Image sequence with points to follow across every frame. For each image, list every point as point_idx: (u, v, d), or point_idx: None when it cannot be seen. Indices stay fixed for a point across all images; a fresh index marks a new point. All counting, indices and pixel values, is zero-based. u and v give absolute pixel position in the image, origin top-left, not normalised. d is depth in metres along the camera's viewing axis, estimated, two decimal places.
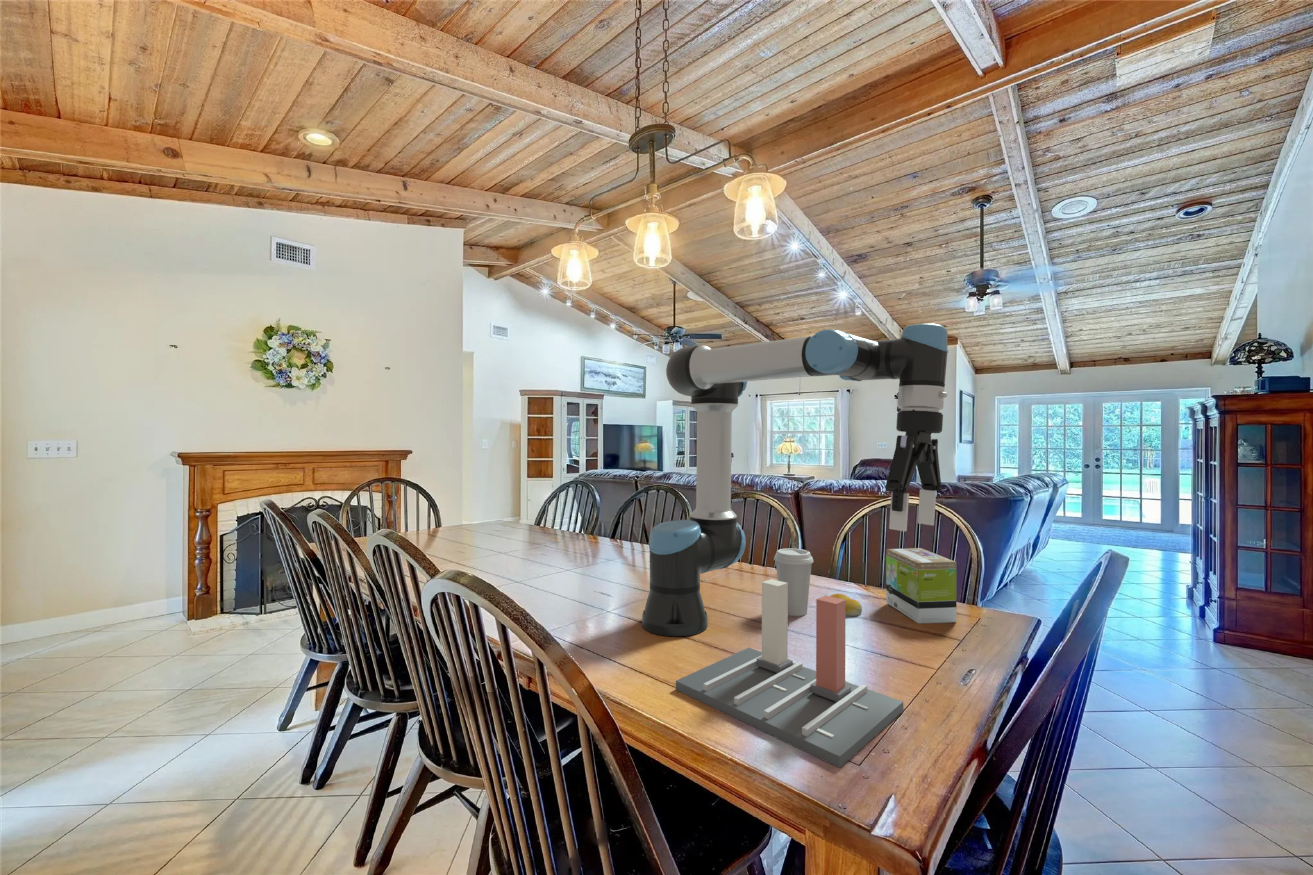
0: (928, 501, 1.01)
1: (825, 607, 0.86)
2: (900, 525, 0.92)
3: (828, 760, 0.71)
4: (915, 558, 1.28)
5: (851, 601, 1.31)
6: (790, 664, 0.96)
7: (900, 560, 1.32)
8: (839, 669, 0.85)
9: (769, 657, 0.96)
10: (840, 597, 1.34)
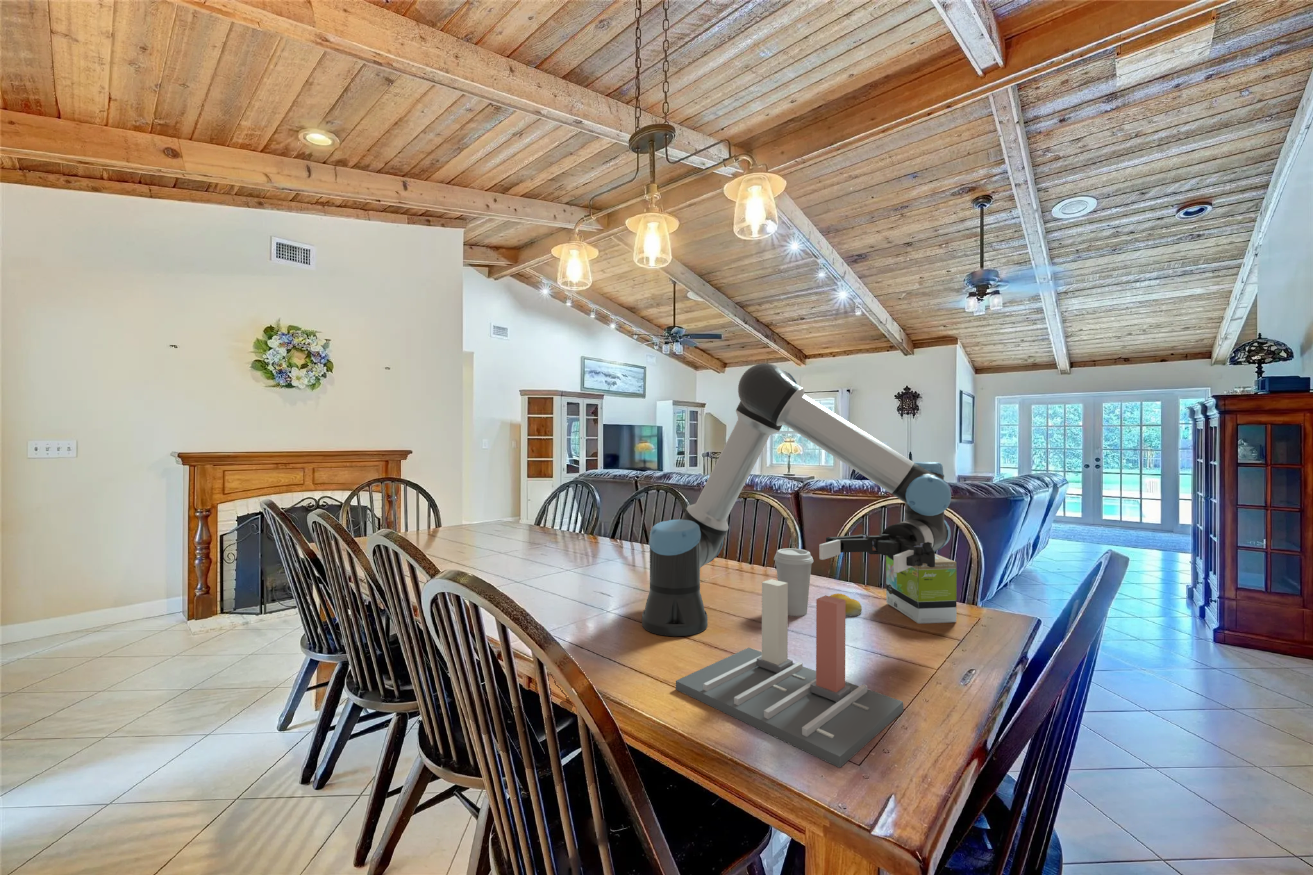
0: (835, 550, 1.01)
1: (825, 607, 0.86)
2: (900, 566, 0.88)
3: (828, 760, 0.71)
4: None
5: (851, 601, 1.31)
6: (790, 664, 0.96)
7: None
8: (839, 669, 0.85)
9: (769, 657, 0.96)
10: (840, 597, 1.34)
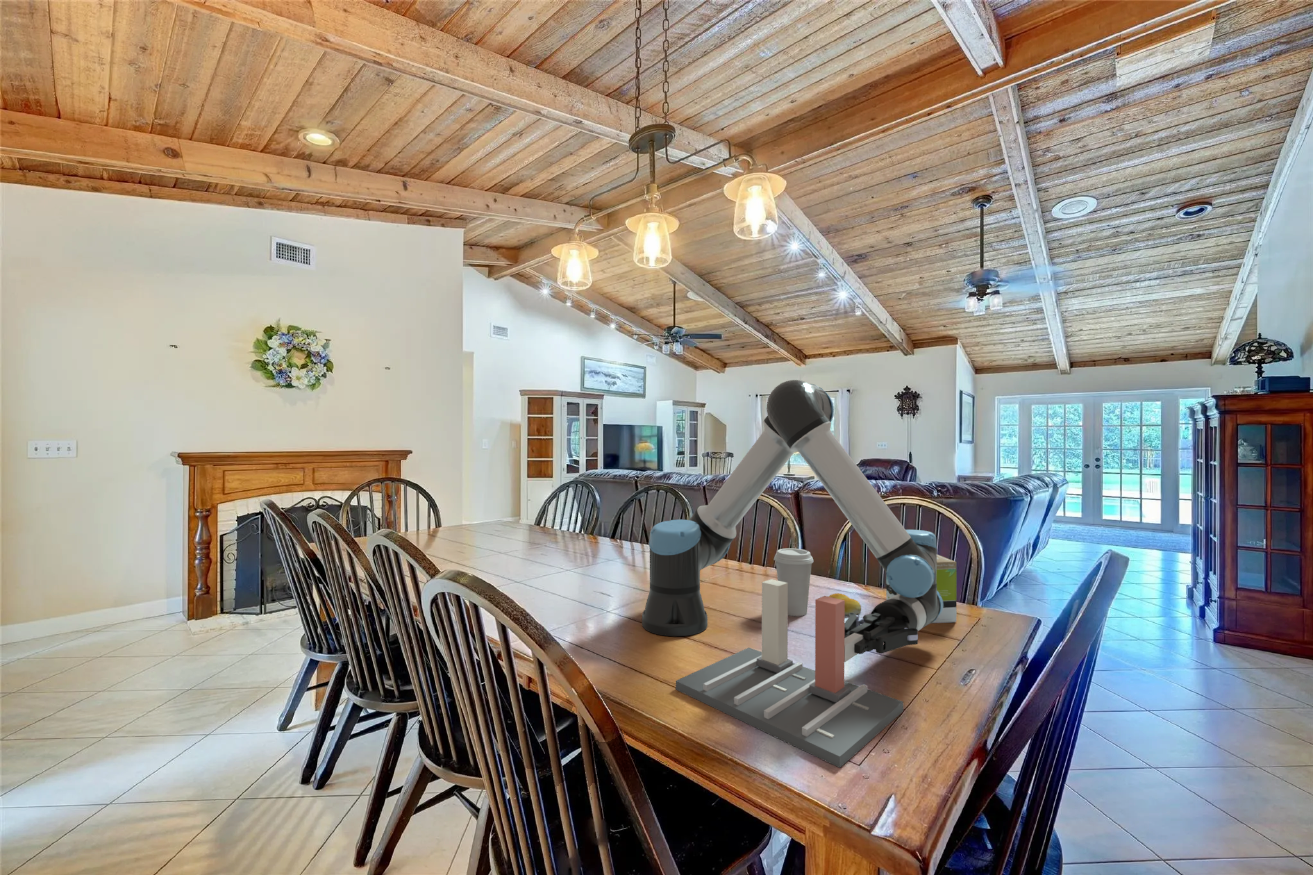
0: None
1: (824, 608, 0.85)
2: (847, 655, 0.87)
3: (828, 760, 0.71)
4: None
5: (850, 601, 1.31)
6: (790, 664, 0.96)
7: None
8: (838, 670, 0.85)
9: (769, 657, 0.96)
10: (839, 597, 1.34)
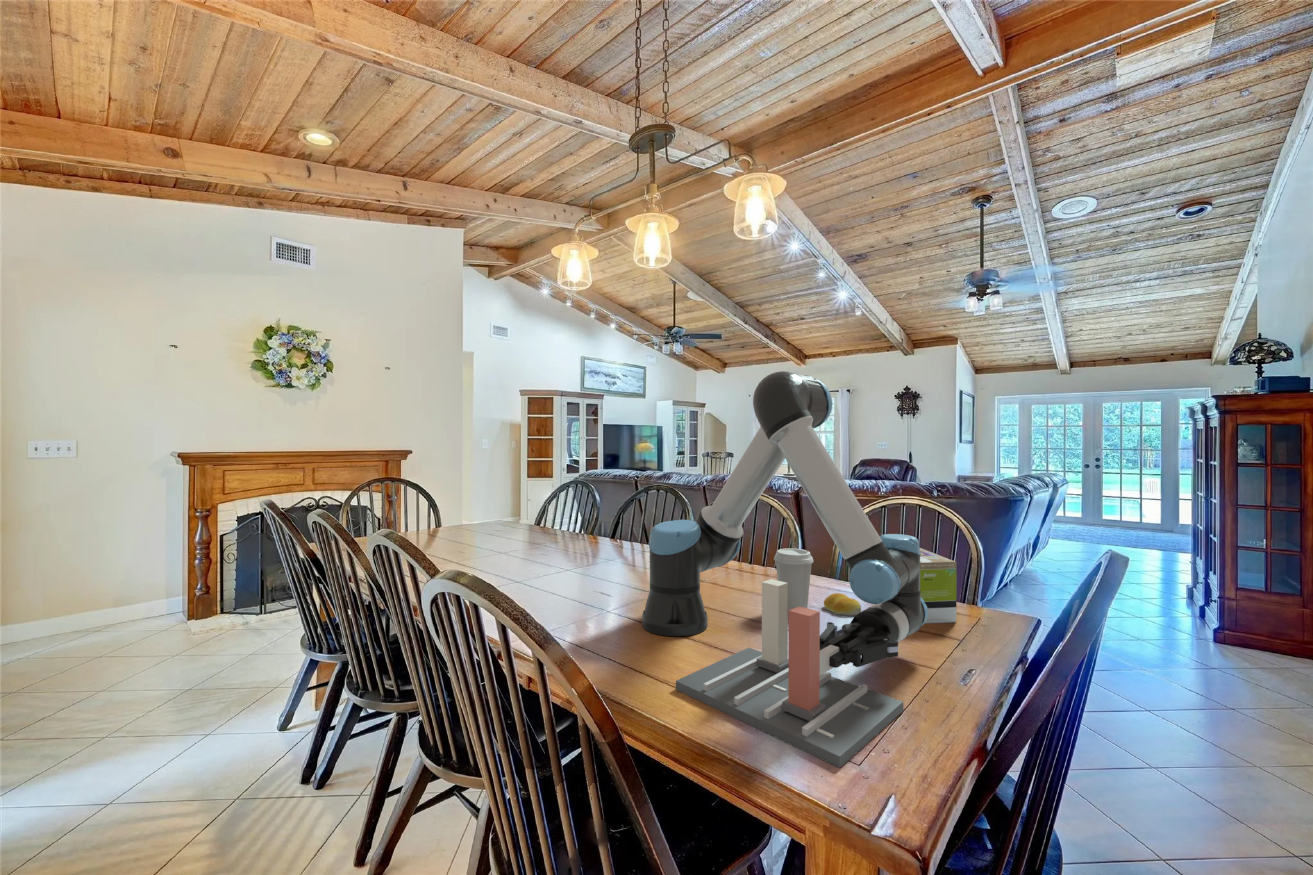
0: None
1: (797, 619, 0.80)
2: (821, 669, 0.82)
3: (828, 760, 0.71)
4: None
5: (850, 600, 1.31)
6: None
7: None
8: (812, 686, 0.79)
9: (769, 657, 0.96)
10: (839, 597, 1.34)
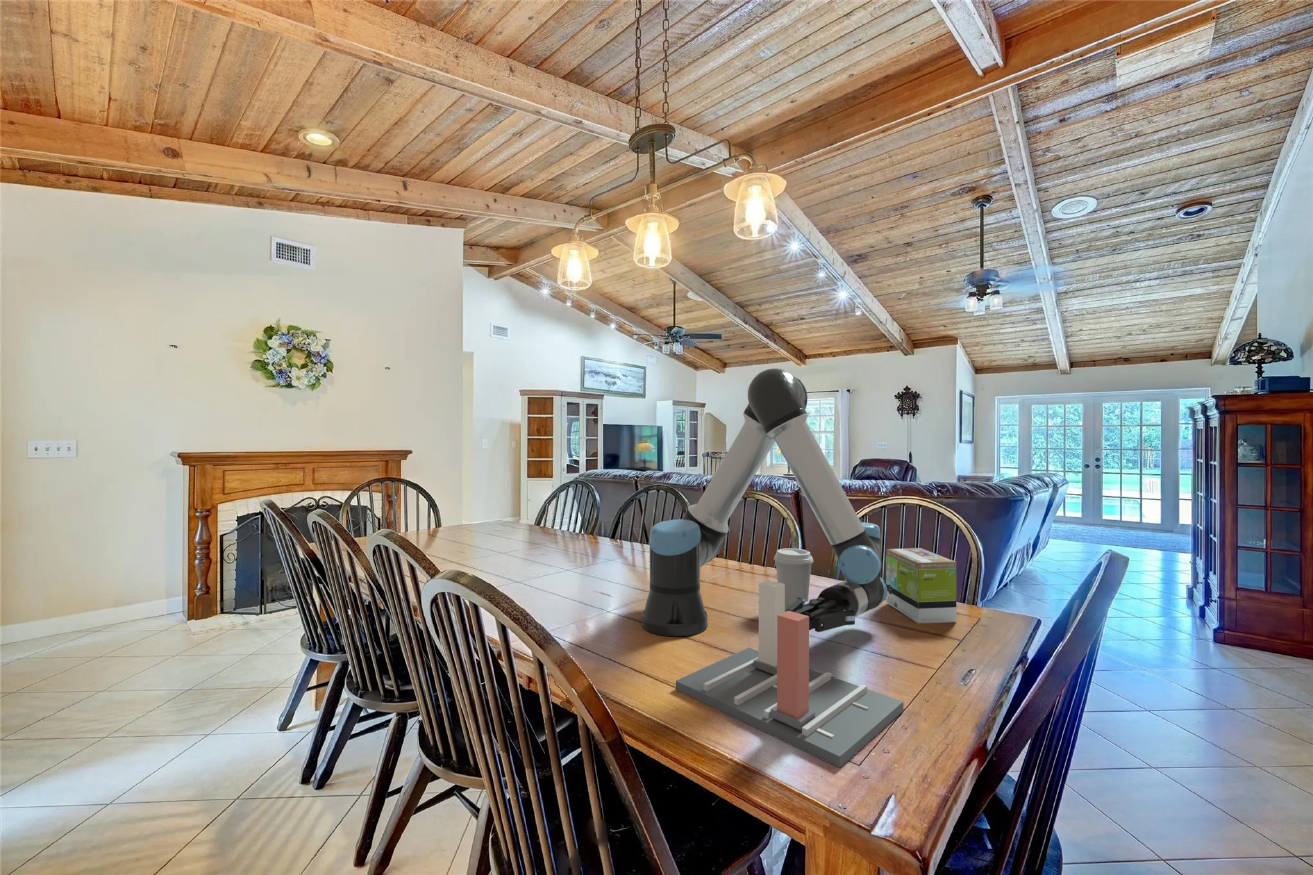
0: None
1: (786, 624, 0.78)
2: None
3: (828, 760, 0.71)
4: (915, 558, 1.28)
5: None
6: None
7: (900, 560, 1.32)
8: (801, 693, 0.77)
9: (766, 658, 0.95)
10: None
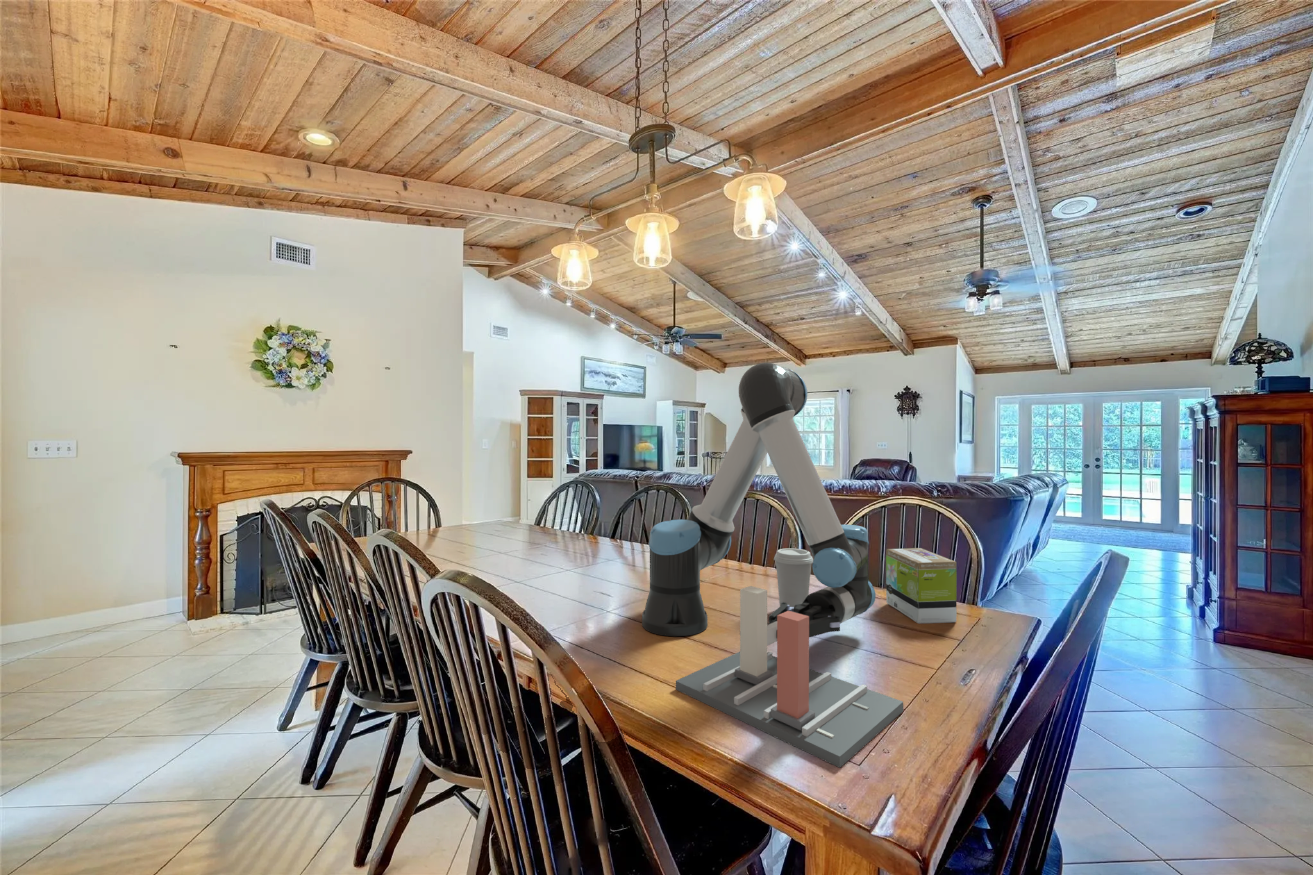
0: None
1: (786, 624, 0.78)
2: (768, 640, 0.93)
3: (828, 760, 0.71)
4: (915, 558, 1.28)
5: None
6: (770, 675, 0.91)
7: (900, 560, 1.32)
8: (801, 693, 0.77)
9: (747, 667, 0.91)
10: None
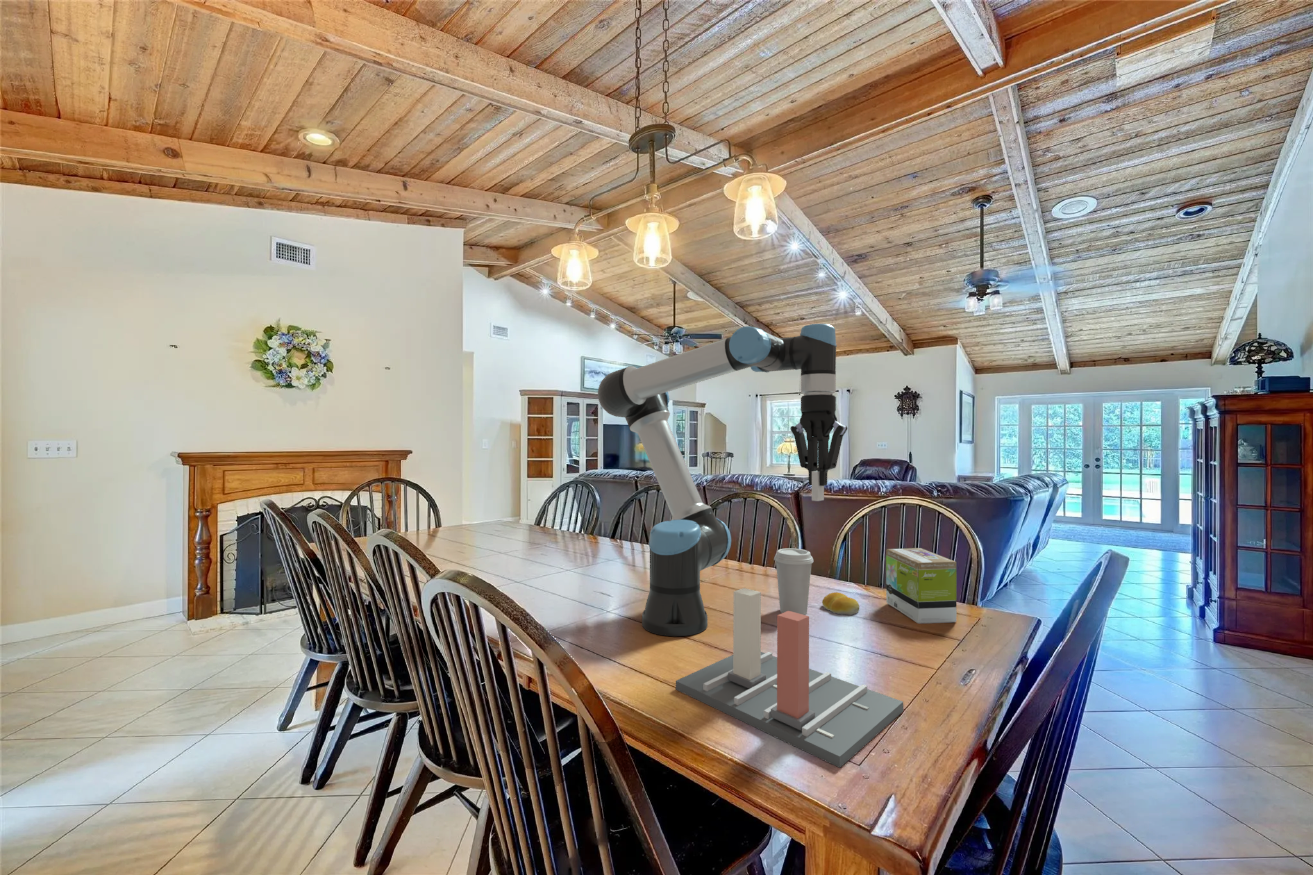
0: None
1: (786, 624, 0.78)
2: (822, 496, 1.19)
3: (828, 760, 0.71)
4: (915, 558, 1.28)
5: (849, 600, 1.32)
6: (763, 679, 0.90)
7: (900, 560, 1.32)
8: (801, 693, 0.77)
9: (741, 671, 0.90)
10: (838, 596, 1.35)
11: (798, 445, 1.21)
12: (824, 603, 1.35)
